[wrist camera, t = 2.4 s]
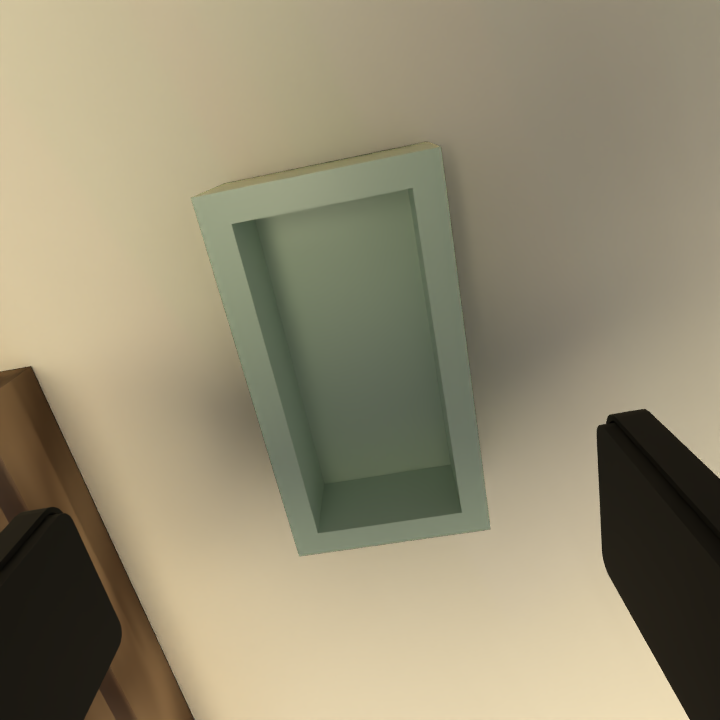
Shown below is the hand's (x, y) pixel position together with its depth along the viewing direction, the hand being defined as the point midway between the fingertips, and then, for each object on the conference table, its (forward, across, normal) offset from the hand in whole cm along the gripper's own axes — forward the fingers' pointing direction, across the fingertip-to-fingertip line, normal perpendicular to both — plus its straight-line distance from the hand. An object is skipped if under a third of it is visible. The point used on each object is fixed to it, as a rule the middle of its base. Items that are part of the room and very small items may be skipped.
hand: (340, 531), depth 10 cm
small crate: (+7, 0, -1) cm, 8 cm away
